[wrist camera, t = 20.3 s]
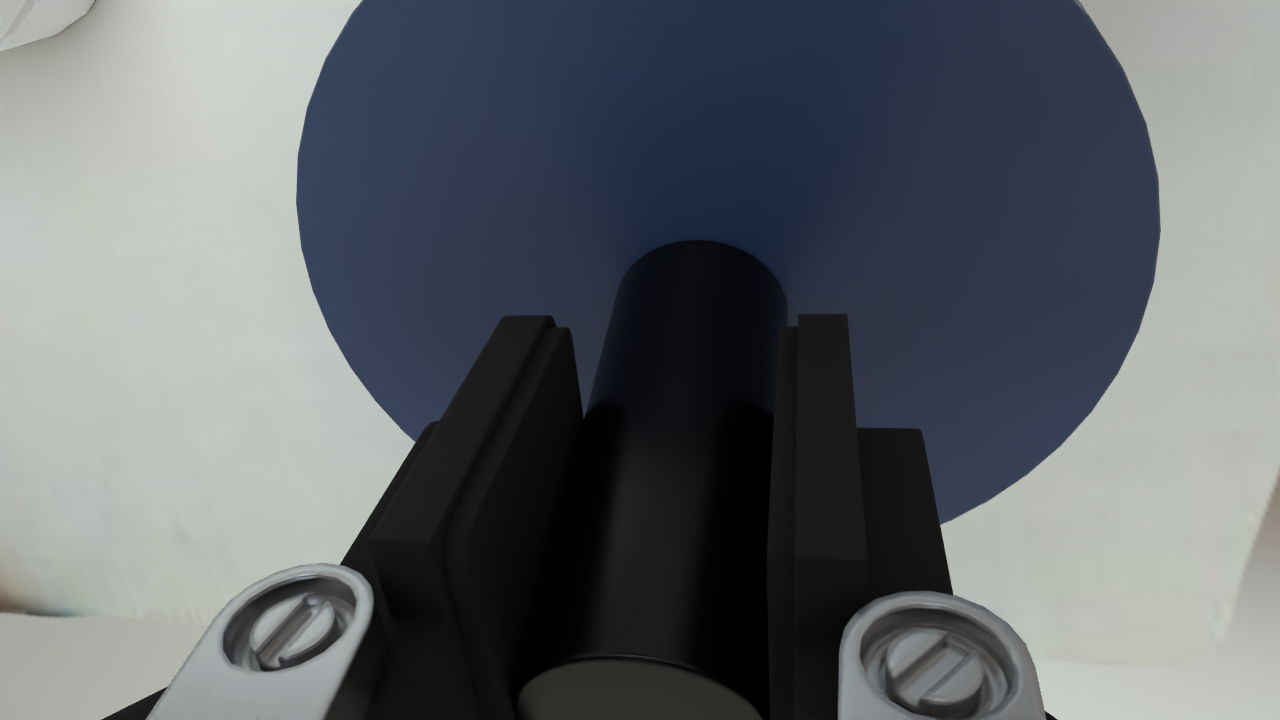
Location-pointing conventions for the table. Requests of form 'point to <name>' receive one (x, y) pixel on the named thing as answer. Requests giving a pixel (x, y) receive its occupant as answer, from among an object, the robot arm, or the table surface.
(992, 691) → the robot arm
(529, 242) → the lid
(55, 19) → the honey pot
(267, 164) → the table surface
